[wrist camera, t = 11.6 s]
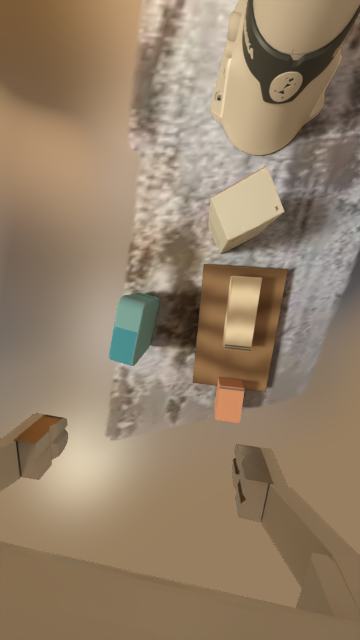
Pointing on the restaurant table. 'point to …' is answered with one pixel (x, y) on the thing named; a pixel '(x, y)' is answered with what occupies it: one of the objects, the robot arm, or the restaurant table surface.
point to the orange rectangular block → (229, 399)
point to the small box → (244, 210)
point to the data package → (133, 327)
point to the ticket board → (215, 324)
